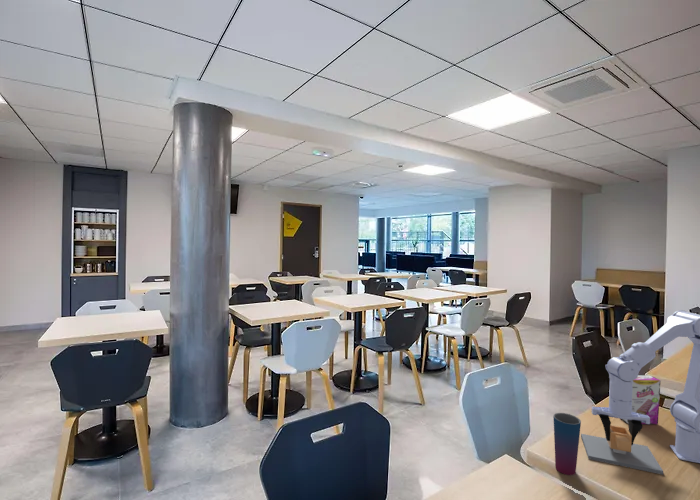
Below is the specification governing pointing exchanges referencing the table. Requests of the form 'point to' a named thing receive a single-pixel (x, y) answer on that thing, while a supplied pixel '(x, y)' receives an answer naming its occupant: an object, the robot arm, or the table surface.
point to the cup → (566, 442)
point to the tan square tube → (620, 438)
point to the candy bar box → (646, 397)
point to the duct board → (621, 454)
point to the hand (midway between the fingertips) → (618, 441)
